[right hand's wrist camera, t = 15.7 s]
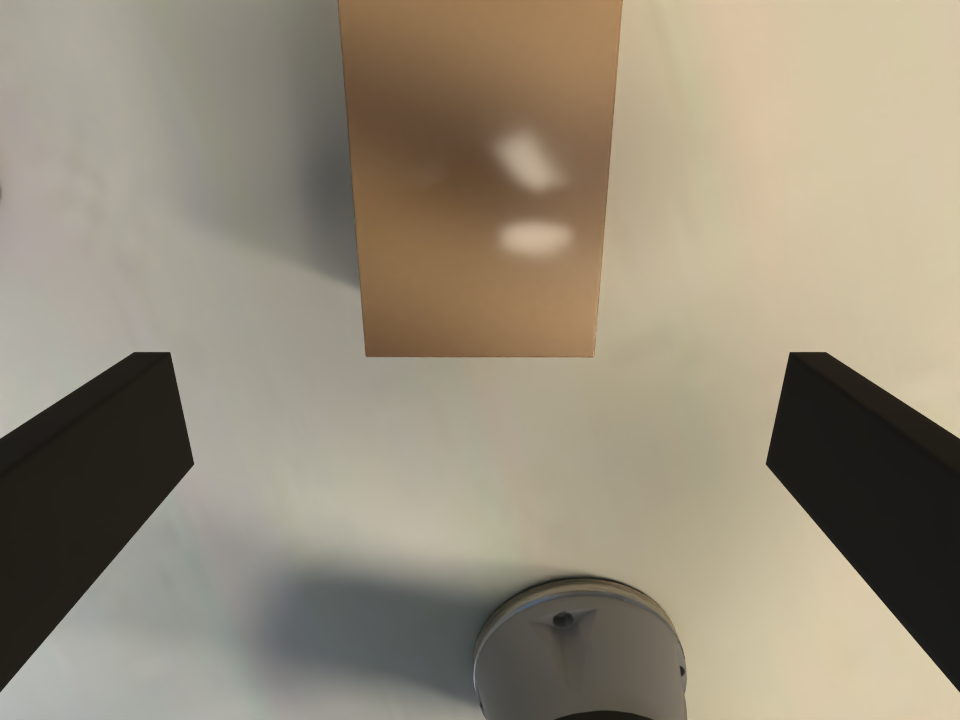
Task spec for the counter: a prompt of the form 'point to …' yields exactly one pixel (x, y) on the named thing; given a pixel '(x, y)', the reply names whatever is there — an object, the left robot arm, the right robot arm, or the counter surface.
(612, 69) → the cabinet
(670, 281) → the counter surface
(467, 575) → the counter surface
